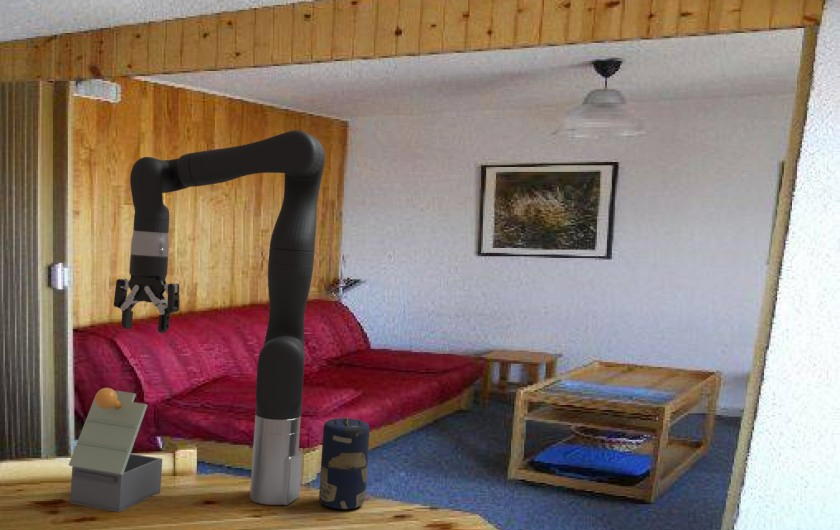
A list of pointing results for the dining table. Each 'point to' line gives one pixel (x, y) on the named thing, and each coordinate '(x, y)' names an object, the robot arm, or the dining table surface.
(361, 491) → the canister
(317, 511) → the dining table surface
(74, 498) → the parts tub
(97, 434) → the lid
